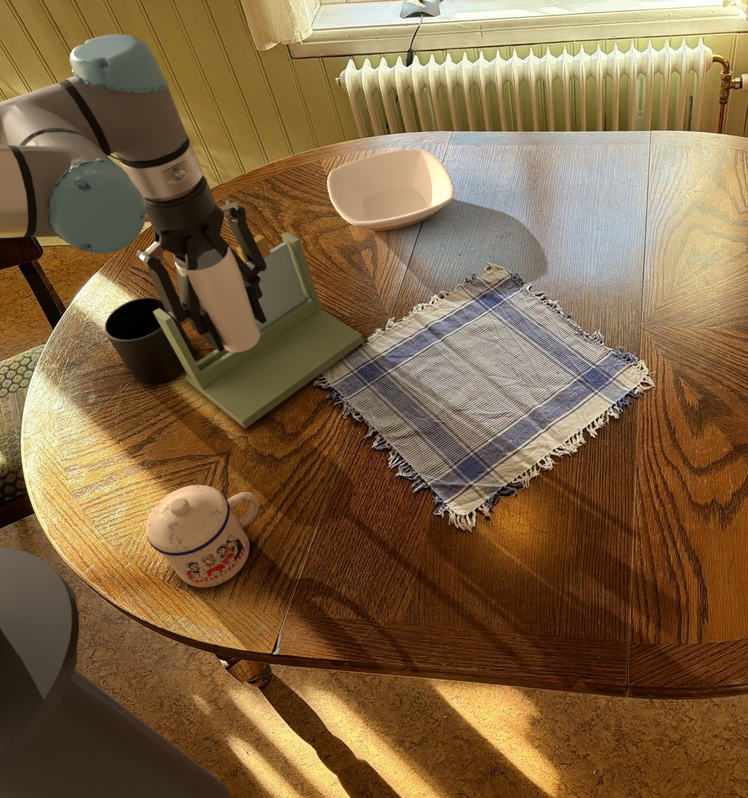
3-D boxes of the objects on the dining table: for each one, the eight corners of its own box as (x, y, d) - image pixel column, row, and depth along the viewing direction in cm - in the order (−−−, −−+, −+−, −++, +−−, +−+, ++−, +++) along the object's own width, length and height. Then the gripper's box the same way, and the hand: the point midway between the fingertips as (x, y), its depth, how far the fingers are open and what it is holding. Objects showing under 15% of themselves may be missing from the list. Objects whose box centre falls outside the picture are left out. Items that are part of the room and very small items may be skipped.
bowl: (324, 192, 142) (317, 167, 138) (432, 165, 147) (429, 141, 143) (351, 257, 128) (344, 232, 124) (469, 226, 134) (466, 200, 130)
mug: (166, 324, 119) (142, 280, 112) (207, 359, 113) (185, 315, 106) (111, 356, 114) (82, 313, 107) (151, 395, 109) (123, 351, 102)
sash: (258, 346, 113) (222, 262, 100) (253, 342, 113) (217, 258, 101) (310, 310, 117) (282, 226, 105) (306, 307, 118) (277, 223, 106)
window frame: (245, 429, 104) (206, 354, 93) (188, 382, 110) (146, 306, 99) (363, 342, 115) (342, 265, 103) (306, 304, 121) (280, 227, 110)
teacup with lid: (195, 605, 87) (154, 556, 78) (163, 554, 91) (121, 502, 83) (286, 544, 92) (258, 491, 83) (252, 498, 96) (221, 443, 88)
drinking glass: (229, 321, 105) (189, 234, 94) (274, 326, 104) (239, 239, 93) (208, 355, 101) (162, 269, 89) (254, 360, 100) (215, 274, 88)
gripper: (109, 238, 77) (192, 385, 95) (260, 158, 87) (310, 306, 104) (73, 211, 81) (160, 359, 98) (222, 137, 90) (277, 284, 108)
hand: (237, 331), depth 101 cm, fingers closed on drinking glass, 6 cm apart
